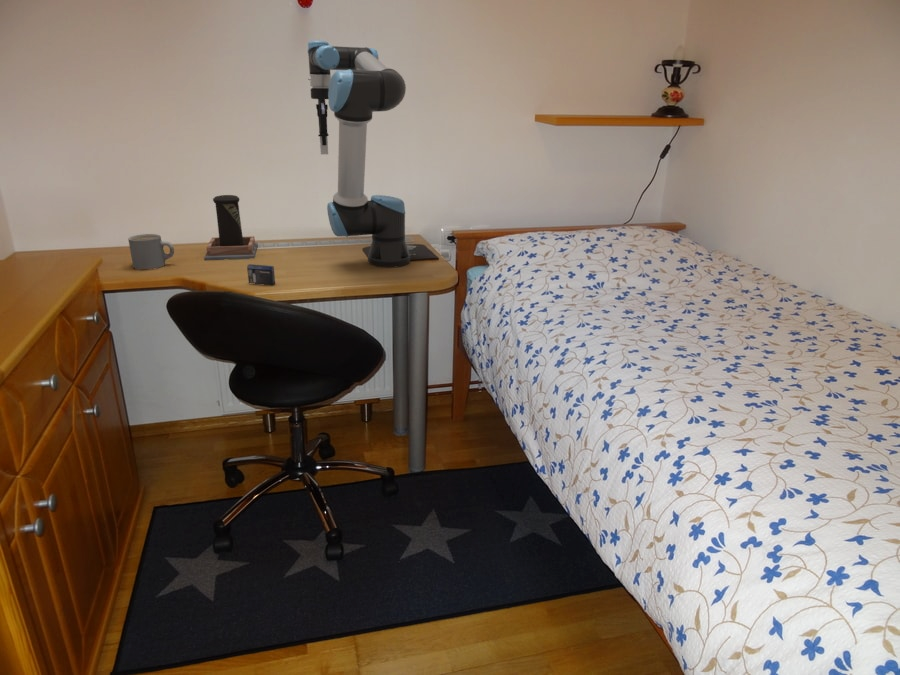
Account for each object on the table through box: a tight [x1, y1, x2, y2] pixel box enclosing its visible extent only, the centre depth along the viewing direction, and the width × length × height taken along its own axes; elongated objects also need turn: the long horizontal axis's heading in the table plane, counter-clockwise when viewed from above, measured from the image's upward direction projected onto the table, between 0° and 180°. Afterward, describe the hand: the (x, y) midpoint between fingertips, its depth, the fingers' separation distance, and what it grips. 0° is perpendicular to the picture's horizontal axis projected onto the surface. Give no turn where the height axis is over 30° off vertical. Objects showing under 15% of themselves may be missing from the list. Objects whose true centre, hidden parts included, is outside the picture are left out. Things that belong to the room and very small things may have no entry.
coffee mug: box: [128, 233, 175, 270], centre depth 210 cm, size 13×10×10 cm
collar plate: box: [203, 236, 259, 261], centre depth 229 cm, size 20×17×4 cm
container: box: [212, 194, 244, 246], centre depth 226 cm, size 9×9×20 cm
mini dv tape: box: [246, 263, 276, 286], centre depth 195 cm, size 8×2×6 cm, turn 80°
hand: (324, 154), depth 235 cm, fingers closed
